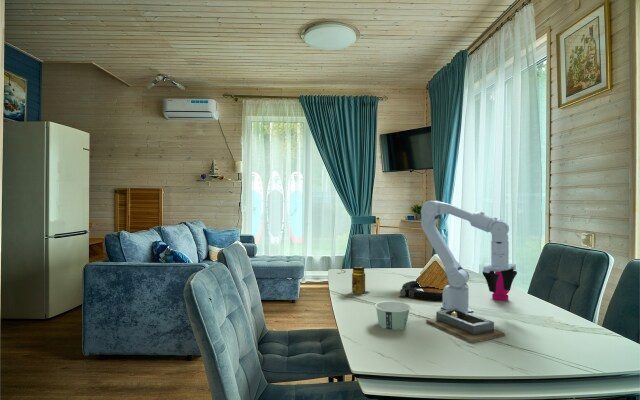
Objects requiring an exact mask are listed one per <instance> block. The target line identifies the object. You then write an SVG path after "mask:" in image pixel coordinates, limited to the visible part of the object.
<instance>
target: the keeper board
mask: <svg viewBox="0 0 640 400" xmlns="http://www.w3.org/2000/svg"><path fill="white" fill-rule="evenodd" d="M451 316H454V317H456V318H457V313H456V312H452V313H451ZM425 322H426V324H428V323H429V325H431V326H433V325H434V326H433V327H435V326H436V328H437V327H438V328H437V329H440V330H442V331H444V332H446V331H447V333H448V332H449V333H448V334H451V335H454V336H455V337H457V336H458V338H460V339H462V340H464V341H466V340H467V342H469V343H471V344H474V343H477V341H478V342H482V341H481V340H483V341H487V340H491V339H490V338H492V339H495V338H500V337H505V336H506V335H505V332H504V331H502V330H499V329H496V328H494V332H489V333H484V334H480V335H475V336H472V335H470V334H468V333H465V332H463V331H460V330H458V329H456V328H453V327H451V326H449V325H446V324H444V323H442V322H439V321H437V320H436V317H433V318H428V319H425ZM486 339H487V340H486Z"/></svg>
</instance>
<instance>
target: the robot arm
mask: <svg viewBox="0 0 640 400" xmlns="http://www.w3.org/2000/svg"><path fill="white" fill-rule="evenodd" d="M420 215H421V218H420V219H421V224H420V225H421V229H422V230H423V232H424V234H425V235H426V237H427V239H428V241H429V242H430V244H431V246H432V248H433V250H434V251H435V253H436V254H437V256H438V258H439V260H440V261H441V263H442V266H443V267H444V272H445V275H446V276H447V283H449V285H446V286H445V287H444V289H442V292H443V301H442V305H440V308H441V309H444V310H449V309H459V310H462V311H465V312H467V313H472V312H474V310H475V309H471V308H469V298H470V297H469V296H470V295H469V288H470V287H469V285H468V284H467V283H468V281H470V280H469V279H470V275H469V274H470V273H469V272H468V271H467V269H465V268H463V267H462V265H461V263H460V262H458V261H457V260H456V257H455V256H454V254H453V253H452V251H451V250H450V248H449V246H448V244H447V243H446V241H445V239H444V238H443V236H442V234H441V233H440V231H439V229H438V228H437V223H438V220H439V218H440V216H441V215H452V216H454V217H457V218H460V219H463V220H465V221H468V222H469V224H470V226H471V227H473V228H476V229H478V230H481V231H483V232H487V233H490V234H491V240H490V241H491V242H490V243H491V245H490V250H491V251H490V252H491V253H490V255H491V256H490V259H491V260H490V264H489V265H485V266H483V270H482V275H483V277H484V279H485V281H486V283H487V287H488V291H489V292H490V293H493V292H494V293H495V292H496V283H497V279H498V276H499V274H495V272H496V271H501V273H502V277H503V286H504V289H505V290H510V291H511V289H512V285H513V282H514V280H515V278H516V276H517V274H518V271H517V269H516V268H517V266H516V264H513V263H509V259H510V257H509V255H510V251H509V246H510V245H509V235H508V233H509V231H510V226H509V224H508V223H507V222H506V221H504V220H502V219H498V217H496V216H495V217H492V216H489V215H487V214H485V212H483V211H480V212H479V211H475V212H474V213H472V212H469V211H468V210H465V209H463V208H460V207H458V206H455V205H452V204H450V203H447V202H443V201H440V200H426V201H425V202H423V204H422V207H421V208H420Z"/></svg>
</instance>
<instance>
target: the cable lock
mask: <svg viewBox="0 0 640 400" xmlns="http://www.w3.org/2000/svg"><path fill="white" fill-rule="evenodd" d="M416 288H417V289H416ZM418 288H421V287H420V286H419V284H418V283H417V280H411V281H407V282H405V283H403V285H402V286H401V289H400V291H399V292H400V295H401V297H403V298H408V297H409V298H413V299H414V298H415V299H420V300H423V301H424V300H425V301H439V302H440V301H442V302H443V294H442V293H440V292H437V291H436V292H434V291H424V290H420V289H418Z"/></svg>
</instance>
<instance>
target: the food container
mask: <svg viewBox="0 0 640 400" xmlns="http://www.w3.org/2000/svg"><path fill="white" fill-rule="evenodd" d="M374 307H375V309H376V316H377V320H378V321H377V322H378V326H379V327H381V328H383V329H386V330H394V331H397V330H403V329H405V328H407V324H408V319H409V313H410V310H411V306H410V305H409V304H408V303H405V302H401V301H393V300H392V301H391V300H389V301H388V300H387V301H378V302H377V303H375V304H374Z"/></svg>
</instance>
